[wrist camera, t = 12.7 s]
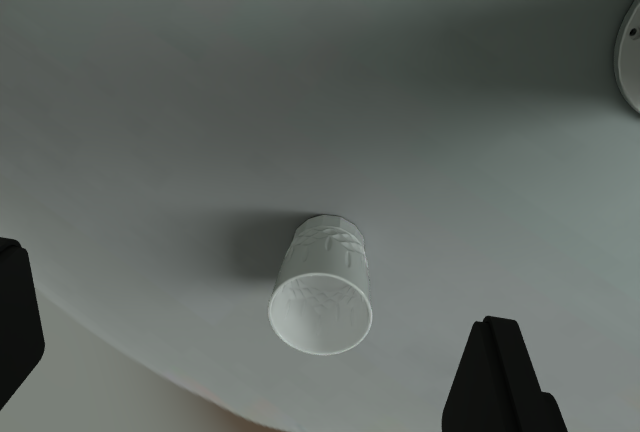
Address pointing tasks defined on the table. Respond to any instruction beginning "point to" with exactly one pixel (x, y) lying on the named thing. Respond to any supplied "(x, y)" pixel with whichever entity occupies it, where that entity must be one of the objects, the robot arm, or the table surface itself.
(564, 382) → the table surface
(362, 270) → the white cup
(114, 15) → the table surface
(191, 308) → the table surface
